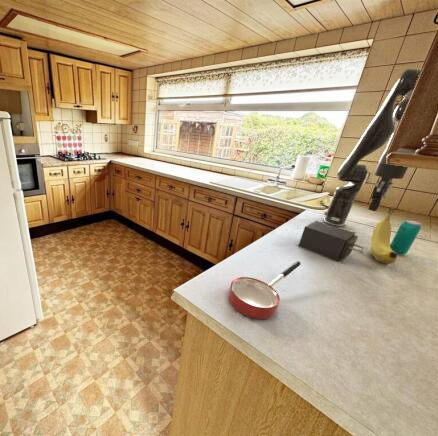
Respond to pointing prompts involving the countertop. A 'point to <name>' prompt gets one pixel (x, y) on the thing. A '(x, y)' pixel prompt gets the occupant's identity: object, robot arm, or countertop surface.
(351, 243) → the basket
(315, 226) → the block
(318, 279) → the countertop surface
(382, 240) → the banana
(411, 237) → the beverage can
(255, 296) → the frying pan
